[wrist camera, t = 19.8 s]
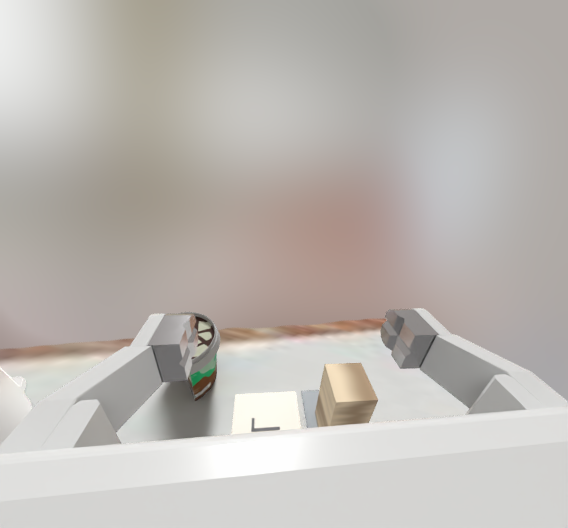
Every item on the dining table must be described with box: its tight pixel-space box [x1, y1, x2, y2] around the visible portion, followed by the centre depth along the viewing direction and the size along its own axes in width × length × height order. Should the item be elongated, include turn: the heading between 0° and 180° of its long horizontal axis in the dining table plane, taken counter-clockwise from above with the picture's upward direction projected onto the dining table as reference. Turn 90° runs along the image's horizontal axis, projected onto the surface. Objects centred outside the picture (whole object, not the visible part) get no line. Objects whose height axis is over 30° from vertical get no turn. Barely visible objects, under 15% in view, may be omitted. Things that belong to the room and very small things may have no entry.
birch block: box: [315, 363, 378, 427], centre depth 30 cm, size 5×5×11 cm
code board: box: [231, 390, 319, 434], centre depth 32 cm, size 19×12×1 cm, turn 95°
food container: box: [178, 312, 220, 401], centre depth 38 cm, size 12×6×10 cm, turn 36°
